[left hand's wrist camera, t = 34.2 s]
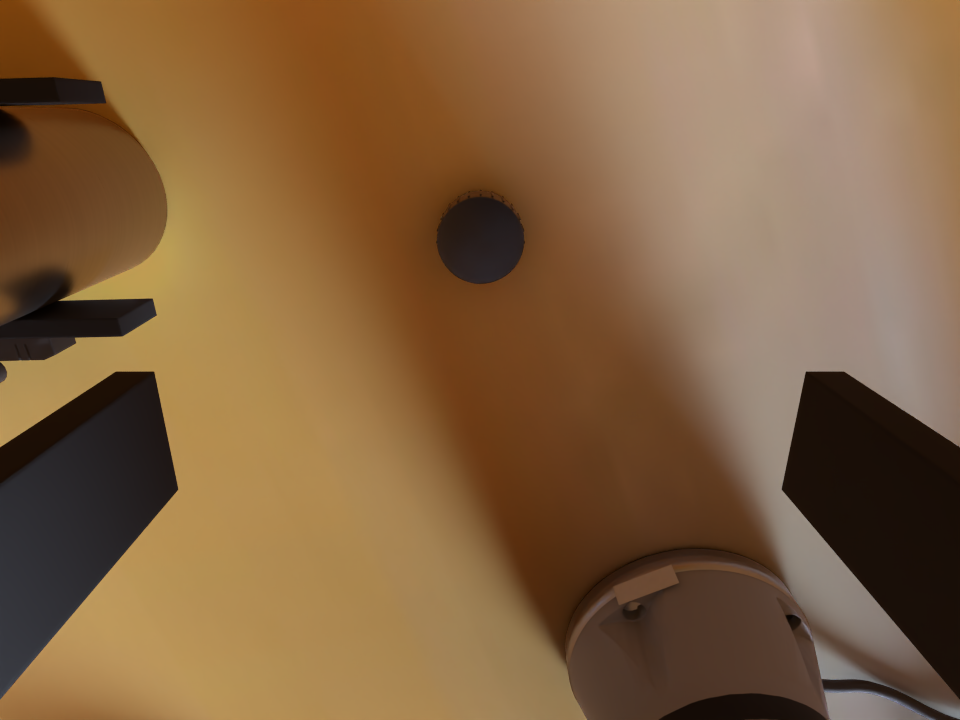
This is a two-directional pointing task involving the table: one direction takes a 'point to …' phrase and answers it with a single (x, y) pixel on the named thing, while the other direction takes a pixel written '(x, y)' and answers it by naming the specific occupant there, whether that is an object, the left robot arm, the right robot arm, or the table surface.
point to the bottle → (71, 205)
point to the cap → (480, 237)
